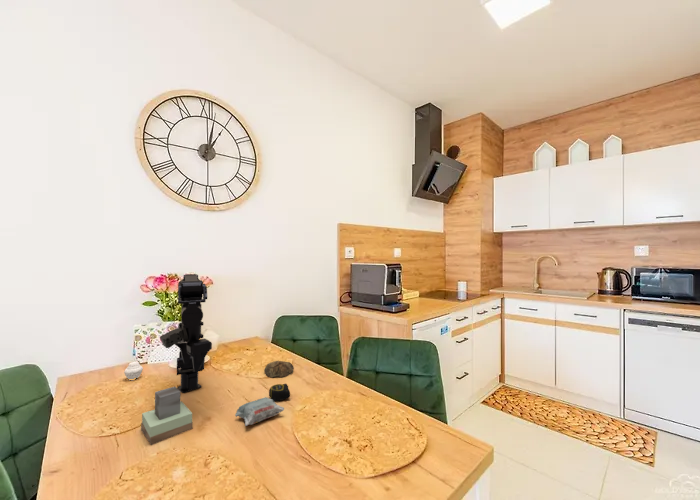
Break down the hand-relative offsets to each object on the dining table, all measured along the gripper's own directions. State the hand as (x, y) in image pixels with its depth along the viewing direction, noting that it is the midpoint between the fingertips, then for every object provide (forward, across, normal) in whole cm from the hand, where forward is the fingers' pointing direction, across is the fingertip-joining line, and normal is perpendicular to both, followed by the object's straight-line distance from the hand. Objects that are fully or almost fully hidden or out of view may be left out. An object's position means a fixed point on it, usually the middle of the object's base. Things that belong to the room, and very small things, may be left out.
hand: (190, 367), depth 96 cm
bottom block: (+13, +9, -9) cm, 18 cm away
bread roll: (+14, -5, +36) cm, 39 cm away
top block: (+11, +9, -9) cm, 16 cm away
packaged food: (+13, +22, +12) cm, 29 cm away
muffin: (+14, -42, -8) cm, 44 cm away
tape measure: (+13, +15, +24) cm, 31 cm away
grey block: (+8, +9, -9) cm, 15 cm away
